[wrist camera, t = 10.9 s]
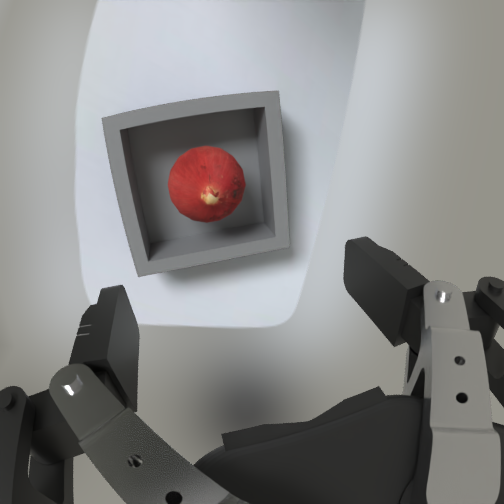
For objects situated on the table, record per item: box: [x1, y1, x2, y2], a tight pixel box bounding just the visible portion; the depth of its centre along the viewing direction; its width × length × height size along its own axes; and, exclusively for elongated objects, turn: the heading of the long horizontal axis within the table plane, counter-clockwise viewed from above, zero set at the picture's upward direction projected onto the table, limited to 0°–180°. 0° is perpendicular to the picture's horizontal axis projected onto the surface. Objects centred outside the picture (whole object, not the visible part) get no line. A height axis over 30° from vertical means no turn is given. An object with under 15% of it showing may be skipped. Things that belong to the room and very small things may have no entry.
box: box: [102, 91, 290, 277], centre depth 25 cm, size 13×13×4 cm
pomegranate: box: [168, 146, 246, 223], centre depth 23 cm, size 6×6×8 cm
